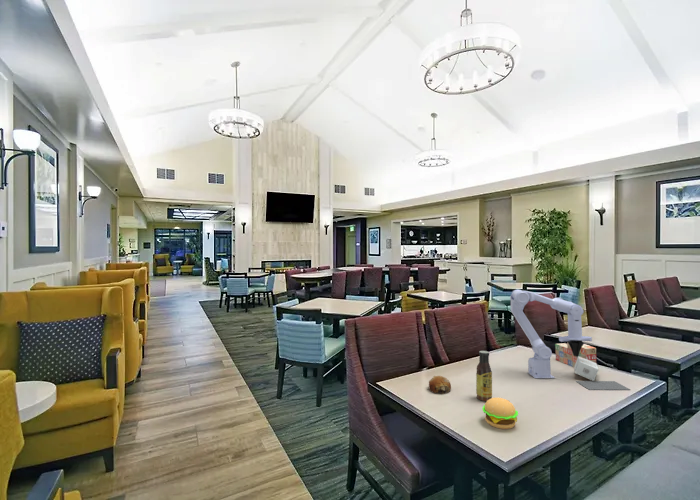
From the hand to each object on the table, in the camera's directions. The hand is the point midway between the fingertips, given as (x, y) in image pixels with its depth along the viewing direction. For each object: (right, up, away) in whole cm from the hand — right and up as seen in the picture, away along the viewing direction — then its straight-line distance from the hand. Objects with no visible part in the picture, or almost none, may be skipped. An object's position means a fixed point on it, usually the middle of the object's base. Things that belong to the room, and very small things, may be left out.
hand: (575, 355), depth 169 cm
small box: (+1, -6, -6) cm, 8 cm away
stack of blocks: (+11, -11, +17) cm, 23 cm away
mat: (+5, -10, -11) cm, 16 cm away
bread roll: (-70, -12, -12) cm, 72 cm away
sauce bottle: (-54, -12, -22) cm, 59 cm away
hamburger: (-56, -11, -43) cm, 72 cm away
